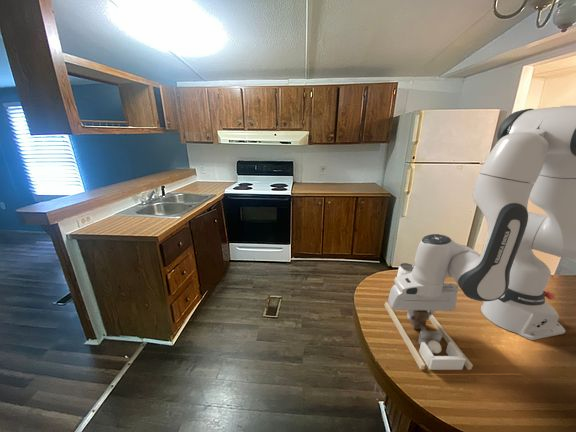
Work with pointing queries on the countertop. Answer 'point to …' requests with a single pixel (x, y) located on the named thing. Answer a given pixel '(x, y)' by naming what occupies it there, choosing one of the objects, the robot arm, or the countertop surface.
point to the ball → (434, 346)
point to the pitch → (411, 346)
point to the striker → (420, 324)
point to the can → (405, 269)
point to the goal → (443, 358)
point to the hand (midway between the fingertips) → (417, 318)
